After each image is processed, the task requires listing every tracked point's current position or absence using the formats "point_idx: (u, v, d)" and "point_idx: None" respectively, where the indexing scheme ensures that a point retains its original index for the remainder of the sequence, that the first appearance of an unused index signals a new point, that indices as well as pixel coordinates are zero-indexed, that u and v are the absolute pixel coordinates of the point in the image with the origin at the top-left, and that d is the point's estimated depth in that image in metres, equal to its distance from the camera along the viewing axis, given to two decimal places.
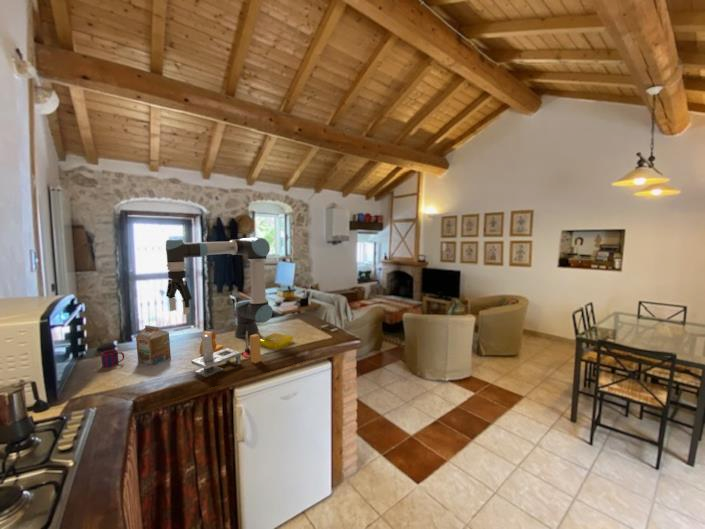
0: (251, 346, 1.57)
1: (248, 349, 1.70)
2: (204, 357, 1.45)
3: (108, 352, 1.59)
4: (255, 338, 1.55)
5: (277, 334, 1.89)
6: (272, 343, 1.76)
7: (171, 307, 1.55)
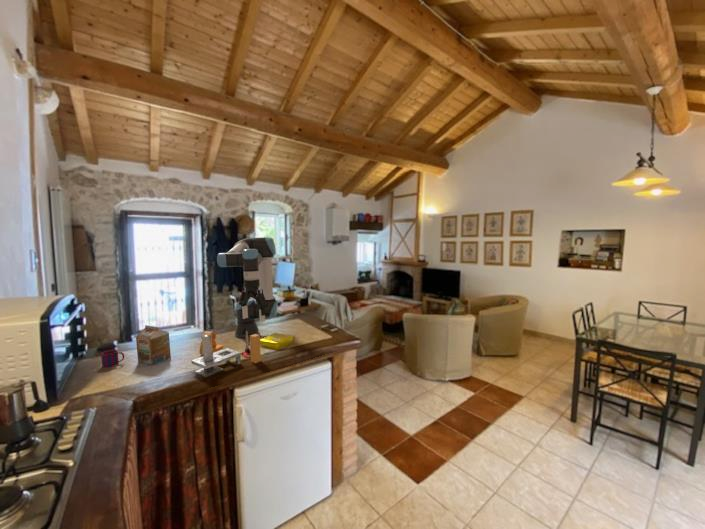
0: (251, 346, 1.57)
1: (248, 349, 1.70)
2: (204, 357, 1.45)
3: (108, 352, 1.59)
4: (255, 338, 1.56)
5: (277, 334, 1.89)
6: (273, 343, 1.76)
7: (244, 315, 1.59)
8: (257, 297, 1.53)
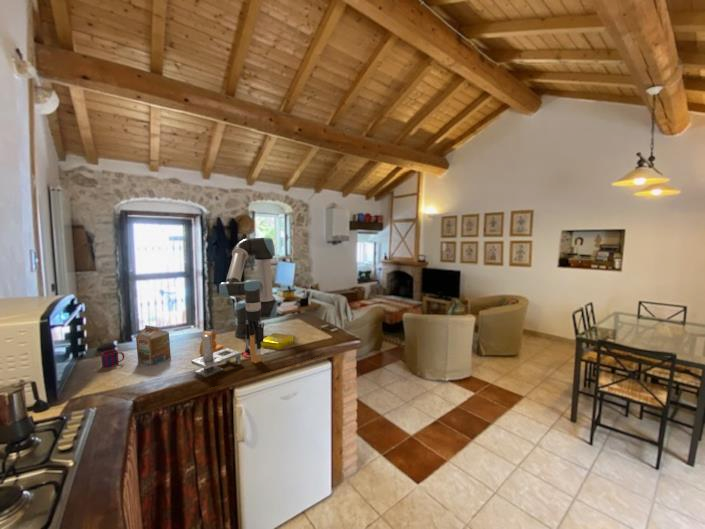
0: (251, 346, 1.57)
1: (248, 349, 1.70)
2: (204, 357, 1.45)
3: (108, 352, 1.59)
4: None
5: (277, 334, 1.89)
6: (274, 343, 1.75)
7: None
8: (257, 330, 1.55)
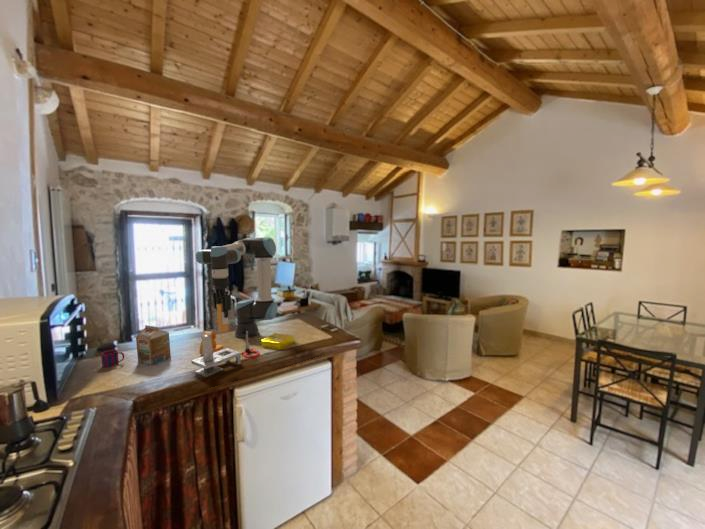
0: (218, 315, 1.51)
1: (248, 349, 1.70)
2: (204, 357, 1.45)
3: (108, 352, 1.59)
4: None
5: (278, 334, 1.89)
6: (275, 343, 1.75)
7: None
8: (224, 297, 1.50)
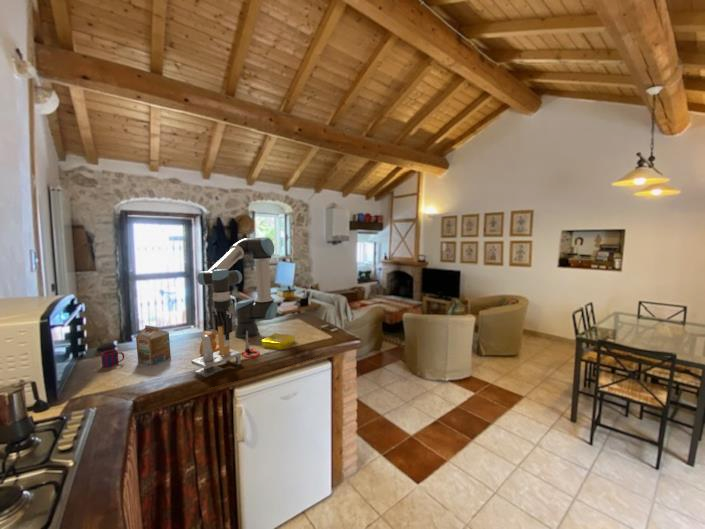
0: (219, 337, 1.52)
1: (248, 349, 1.70)
2: (204, 357, 1.45)
3: (108, 352, 1.59)
4: (223, 329, 1.51)
5: (278, 334, 1.89)
6: (275, 343, 1.75)
7: None
8: (225, 320, 1.51)
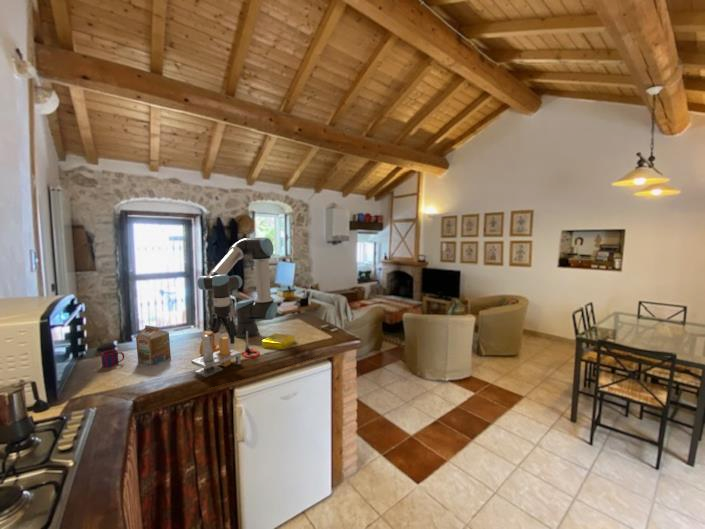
0: (220, 349, 1.53)
1: (248, 349, 1.70)
2: (204, 357, 1.45)
3: (108, 352, 1.59)
4: (224, 341, 1.52)
5: (278, 334, 1.88)
6: (276, 343, 1.75)
7: (216, 342, 1.56)
8: (227, 324, 1.50)
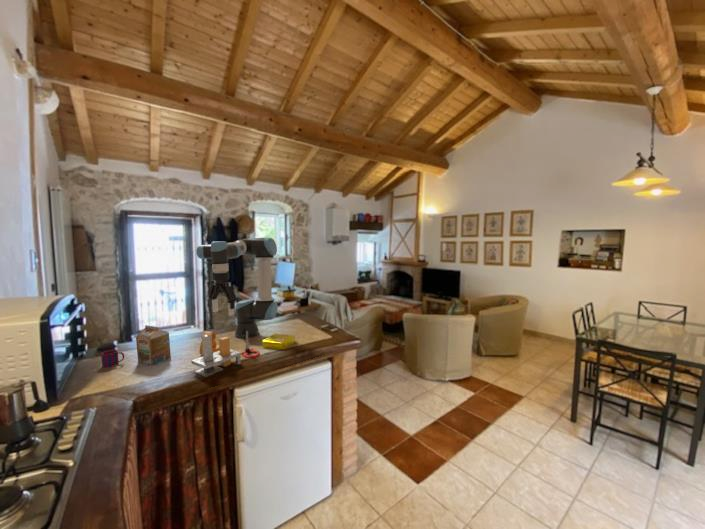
0: (220, 349, 1.53)
1: (248, 349, 1.70)
2: (204, 357, 1.45)
3: (108, 352, 1.59)
4: (224, 341, 1.52)
5: (278, 335, 1.88)
6: (277, 343, 1.75)
7: (214, 308, 1.56)
8: (226, 290, 1.50)
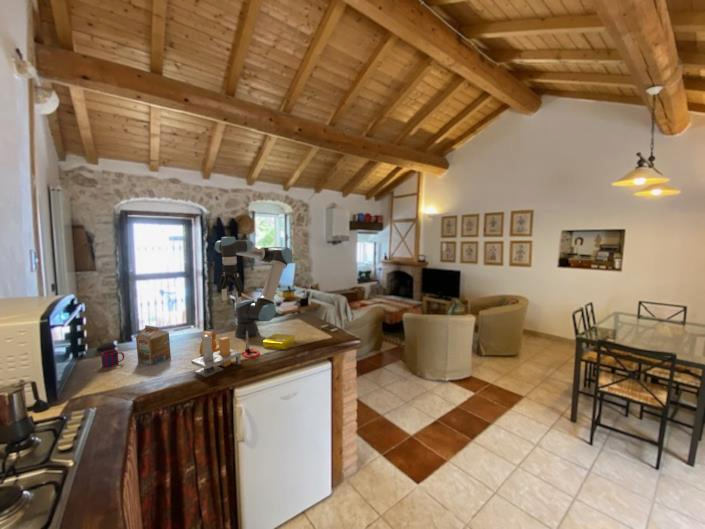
0: (220, 349, 1.53)
1: (248, 349, 1.70)
2: (204, 357, 1.45)
3: (108, 352, 1.59)
4: (224, 341, 1.52)
5: (278, 335, 1.88)
6: (278, 344, 1.75)
7: (223, 297, 1.75)
8: (234, 280, 1.69)
